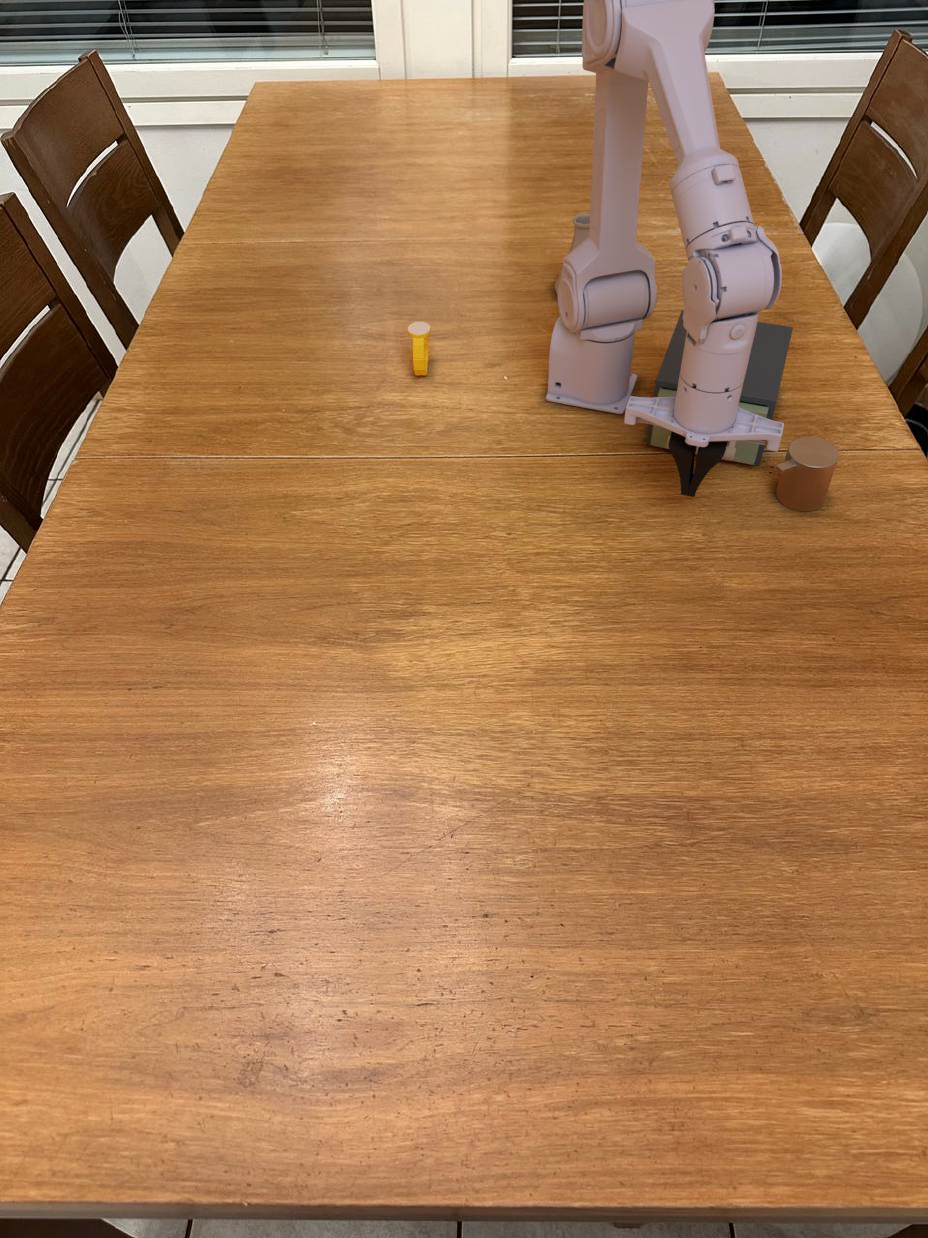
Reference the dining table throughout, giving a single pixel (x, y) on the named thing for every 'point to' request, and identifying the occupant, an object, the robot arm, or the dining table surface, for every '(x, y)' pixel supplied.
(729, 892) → the dining table surface
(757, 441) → the robot arm
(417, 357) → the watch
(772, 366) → the cabinet
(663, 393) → the drawer
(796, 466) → the measuring cup
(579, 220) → the flask
